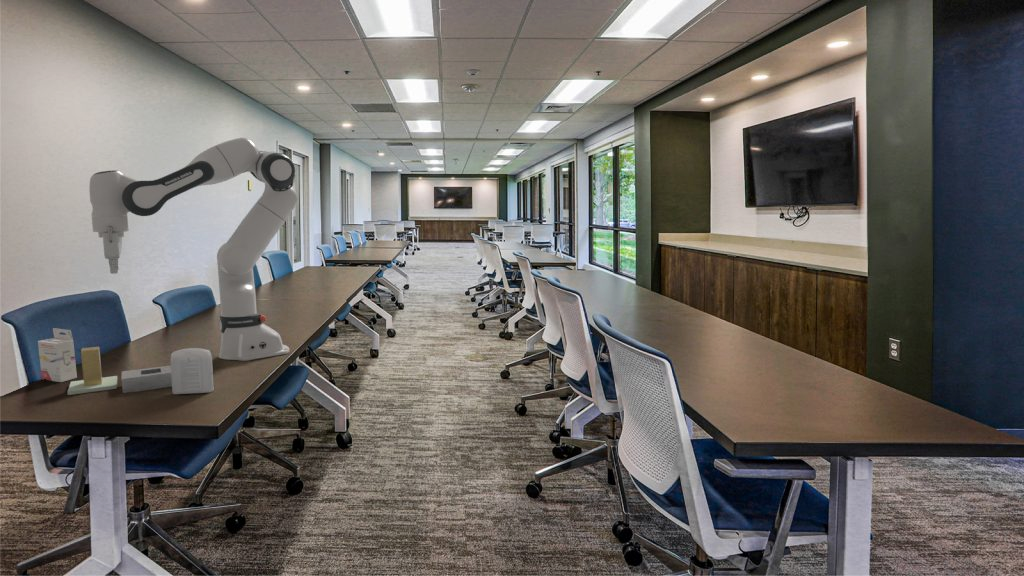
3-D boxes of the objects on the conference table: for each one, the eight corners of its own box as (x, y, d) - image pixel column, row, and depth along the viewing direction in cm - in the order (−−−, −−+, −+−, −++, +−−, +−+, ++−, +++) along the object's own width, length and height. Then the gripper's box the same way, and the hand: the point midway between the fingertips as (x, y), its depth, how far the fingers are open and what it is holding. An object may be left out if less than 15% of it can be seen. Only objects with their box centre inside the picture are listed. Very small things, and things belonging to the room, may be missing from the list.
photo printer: (215, 388, 165) (213, 345, 164) (211, 393, 161) (208, 349, 160) (175, 391, 163) (172, 347, 161) (170, 396, 159) (166, 351, 157)
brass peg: (102, 380, 170) (99, 346, 168) (101, 383, 166) (98, 349, 165) (85, 382, 168) (81, 348, 166) (84, 386, 164) (80, 351, 163)
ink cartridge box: (40, 379, 174) (35, 330, 172) (58, 375, 178) (53, 327, 177) (60, 382, 171) (55, 332, 169) (78, 378, 176) (73, 329, 174)
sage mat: (117, 379, 175) (117, 375, 174) (116, 388, 165) (116, 385, 165) (71, 384, 169) (70, 381, 169) (67, 395, 160) (67, 391, 159)
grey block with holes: (194, 375, 178) (193, 362, 178) (196, 382, 171) (195, 369, 170) (123, 385, 169) (121, 371, 168) (122, 393, 161) (121, 378, 161)
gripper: (122, 226, 169) (126, 274, 170) (123, 224, 186) (127, 268, 188) (95, 226, 165) (100, 275, 167) (99, 225, 182) (103, 269, 184)
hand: (114, 272), depth 177 cm, fingers open, 8 cm apart
